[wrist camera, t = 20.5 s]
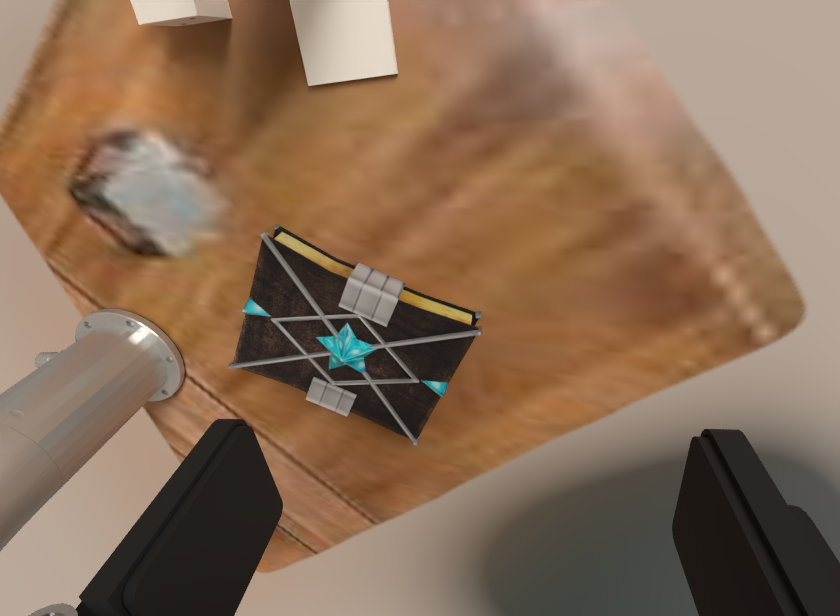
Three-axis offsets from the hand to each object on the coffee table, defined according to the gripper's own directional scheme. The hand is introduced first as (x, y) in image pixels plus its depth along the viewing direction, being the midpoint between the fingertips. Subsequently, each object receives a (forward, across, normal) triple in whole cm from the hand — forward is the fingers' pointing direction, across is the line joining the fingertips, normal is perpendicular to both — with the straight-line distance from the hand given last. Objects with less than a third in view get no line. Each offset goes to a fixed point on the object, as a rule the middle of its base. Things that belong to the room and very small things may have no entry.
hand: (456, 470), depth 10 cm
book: (+31, +15, +16) cm, 38 cm away
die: (+30, +21, -14) cm, 39 cm away
